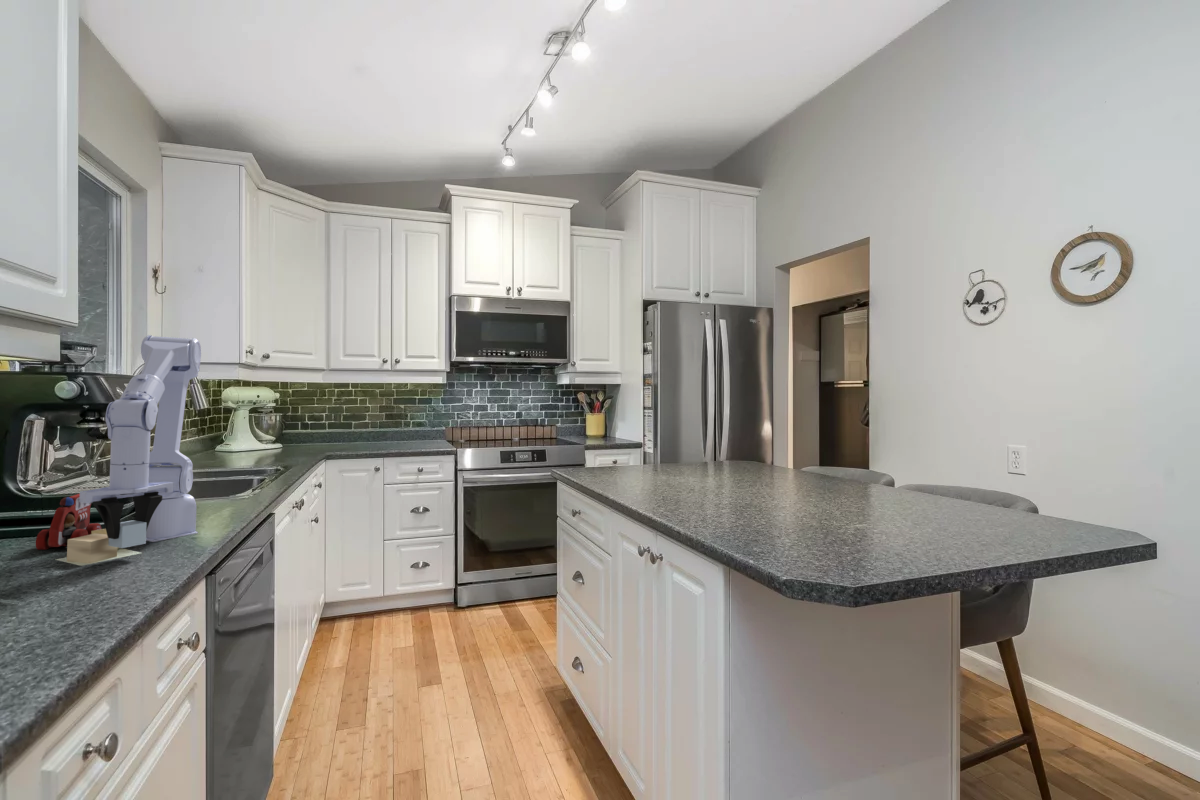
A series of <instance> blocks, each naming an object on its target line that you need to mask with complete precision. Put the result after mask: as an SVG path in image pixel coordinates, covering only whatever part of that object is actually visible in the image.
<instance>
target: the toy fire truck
mask: <svg viewBox="0 0 1200 800" xmlns="http://www.w3.org/2000/svg"><path fill="white" fill-rule="evenodd" d="M79 498H80V492H79V493H76V494H74V495H71V496H66V497H65V496H64V497H63V498H62V499H60V502H59V505H60V506H59V507H58V508H56V509H55V512H54V515H53V518H52V520H51V523H50V526H49V528H48V529H47V528H46V529H42V530H41V531H39V532H38V533H37V536H36V539H35V547H36V550H39V551H41V550H43V551H44V550H45V551H46V550H48V549H50V548H51V549H52V548H59V547H67V543H68V539H72V538H77V537H81V536H86V535H91V531H94V530H100V529H103V528H102V526H101V524H100V523H99V522H97V523H96V522H95V523H90V518H91V517H90V516H91V506H92V503H82V502H79Z"/></svg>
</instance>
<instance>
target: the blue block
mask: <svg viewBox="0 0 1200 800" xmlns="http://www.w3.org/2000/svg"><path fill="white" fill-rule="evenodd" d="M146 524H147V522H141V521H135V519H133V520H127V521H120V534H119V538H118V539H111V538H109V546H113V547H118V548H122V549H127V548H130V547H136V546H141V545H144V544H145V545H146V544H147V541H146Z"/></svg>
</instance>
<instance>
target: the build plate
mask: <svg viewBox="0 0 1200 800" xmlns="http://www.w3.org/2000/svg"><path fill="white" fill-rule="evenodd" d="M140 554H142V552H140V551H136V550H131V549H127V548H117V557H113V558H109V559H105V560H102V561H98V562H94V563H91V564H89V563H79V562H68V561H67V556H65V557H62V558H61V557H59V558H57V559H56V558H55V561H59V562H64V563H68V564H71V565H76V566H79V567H82V566H86V565H87V566H88V565H93V564H97V563H103V562H107V561H111V560H117V559H121V558H125V557H130V556H135V555H140Z"/></svg>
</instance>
